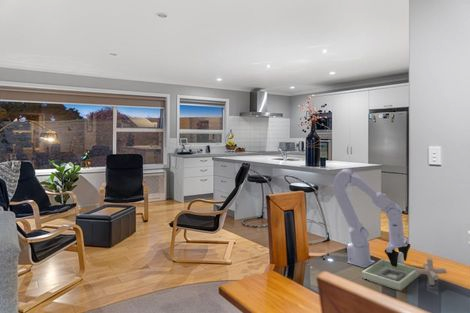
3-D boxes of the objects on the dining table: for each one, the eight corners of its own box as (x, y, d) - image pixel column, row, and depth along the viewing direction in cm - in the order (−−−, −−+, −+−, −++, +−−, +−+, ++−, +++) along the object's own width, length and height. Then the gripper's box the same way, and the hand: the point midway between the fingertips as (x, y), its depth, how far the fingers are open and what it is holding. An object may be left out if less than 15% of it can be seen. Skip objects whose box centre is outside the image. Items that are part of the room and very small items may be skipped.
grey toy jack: (452, 290, 119) (449, 263, 118) (422, 290, 121) (420, 265, 120) (440, 277, 128) (438, 253, 127) (413, 278, 130) (411, 254, 130)
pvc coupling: (392, 267, 142) (391, 253, 141) (397, 263, 144) (395, 250, 144) (401, 269, 139) (400, 256, 138) (406, 266, 141) (405, 252, 141)
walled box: (362, 278, 135) (361, 271, 135) (382, 265, 145) (381, 258, 144) (400, 291, 122) (399, 283, 122) (420, 275, 132) (419, 268, 131)
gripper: (396, 239, 133) (399, 271, 134) (413, 229, 141) (416, 259, 142) (380, 236, 138) (383, 266, 139) (397, 227, 147) (400, 256, 148)
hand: (398, 263), depth 141 cm, fingers open, 7 cm apart
